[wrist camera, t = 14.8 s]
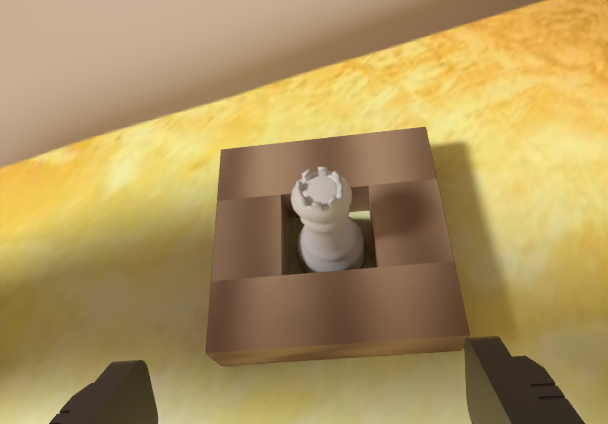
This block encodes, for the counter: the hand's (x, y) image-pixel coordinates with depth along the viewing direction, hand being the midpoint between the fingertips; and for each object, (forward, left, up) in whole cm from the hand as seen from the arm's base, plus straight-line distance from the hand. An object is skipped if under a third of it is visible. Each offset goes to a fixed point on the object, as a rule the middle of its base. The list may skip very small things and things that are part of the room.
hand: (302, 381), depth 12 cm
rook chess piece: (0, +11, -16) cm, 20 cm away
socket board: (0, +11, -16) cm, 20 cm away
